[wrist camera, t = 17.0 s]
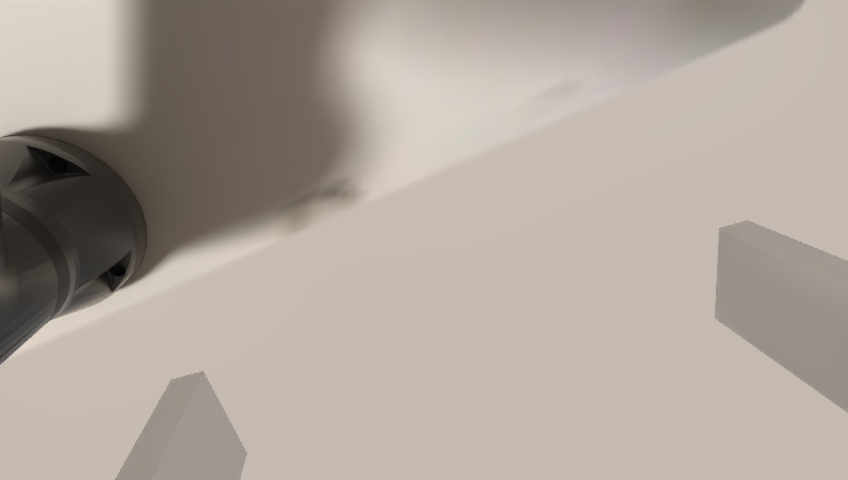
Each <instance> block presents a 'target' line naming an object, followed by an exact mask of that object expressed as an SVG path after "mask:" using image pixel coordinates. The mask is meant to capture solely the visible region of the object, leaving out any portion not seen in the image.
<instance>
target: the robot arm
mask: <svg viewBox="0 0 848 480" xmlns="http://www.w3.org/2000/svg"><path fill="white" fill-rule="evenodd" d="M145 248H146V225H145V220H144V217H143V213H142V211H141V208H140V206H139V204H138V202H137V200H136V198H135V196H134V195H133V193H132V192H131V190H130V189H129V187H128V186H127V185H126V184H125V182H124V181H123V180H122V179H121V178H120V177H119V176H118V175H117V174H116V173H115V172H114V171H113V170H112V169H111V168H110V167H108V166H107V165H106V164H105V163H103V162H102V161H100V160H99V159H98V158H96V157H94V156H93V155H91V154H89V153H88V152H86V151H84V150H82V149H80V148H78V147H75V146H73V145H70V144H68V143H65V142H62V141H58V140H55V139H50V138H46V137H39V136H26V135H20V136H8V137H2V138H0V364H1V363H3V362H4V361H5V360H6V359H7V358H8V357H9V356H10V355H11V354H13V353H14V352H15V351H16V350H17V349H18V348H19V347H20V346H22V345H23V344H24V343H25V342H26V341H27V340H28V339H29V338H30V337H32V336H33V335H34V334H35V333H36V332H37V331H38V330H39V329H41V328H42V327H43V326H44V325H45V324H46V323H47V322H49V321H50V320H52V319H55V318H58V317H61V316H64V315H67V314H70V313H73V312H75V311H78V310H81V309H84V308H87V307H90V306H92V305H95V304H97V303H99V302H101V301H103V300H104V299H106V298H108V297H109V296H111V295H112V294H113V293H115V292H116V291H117V290H118V289H119V288H120V287H121V286H122V285H123V284H124V283H125V282H126V281H127V280H128V279H129V278H130V277H131V276H132V275H133V274H134V273H135V271H136V270H137V268H138V267H139V265H140V263H141V261H142V258H143V256H144V252H145ZM716 285H717V286H716V305H715V319H717V320H718V321H720V322H721V323H722V324H724V325H725V326H727V327H728V328H729V329H731V330H732V331H734V332H735V333H737V334H738V335H739V336H741V337H742V338H743V339H745V340H746V341H748V342H749V343H750V344H752V345H753V346H755V347H756V348H757V349H759V350H760V351H762V352H763V353H764V354H766V355H767V356H769V357H770V358H772V359H773V360H774V361H776V362H777V363H779V364H780V365H781V366H783V367H784V368H786V369H787V370H789V371H790V372H791V373H793V374H794V375H795V376H797V377H798V378H800V379H801V380H802V381H804V382H805V383H807V384H808V385H809V386H811V387H812V388H814V389H815V390H816V391H818V392H819V393H821V394H822V395H823V396H825V397H826V398H828V399H829V400H831V401H832V402H833V403H835V404H836V405H838V406H839V407H840V408H842V409H843V410H845V411H846V412H847V413H848V261H846V260H844V259H841V258H839V257H836V256H834V255H831V254H829V253H826V252H824V251H822V250H819V249H817V248H814V247H812V246H809V245H807V244H804V243H802V242H799V241H797V240H794V239H792V238H790V237H787V236H785V235H782V234H780V233H777V232H775V231H772V230H770V229H767V228H765V227H762V226H760V225H757V224H755V223H753V222H750V221H744V222H740V223H736V224H733V225H729V226H725V227H722V228H719V244H718V264H717V284H716ZM246 455H247V452H246V451H245V448H244V446H243V445H242V443H241V441H240V439H239V437H238V435H237V433H236V431H235V430H234V428H233V426H232V424H231V422H230V420H229V418H228V417H227V415H226V413H225V411H224V409H223V407H222V405H221V403H220V401H219V400H218V398H217V396H216V394H215V392H214V390H213V389H212V386H211V385H210V383H209V381H208V379H207V377H206V375H205V373H204V371H202V372H198V373H194V374H191V375H187V376H183V377H180V378H176V379H173V380H171V381H170V383H169V385H168V386H167V388H166V390H165V392H164V394H163V395H162V397H161V399H160V401H159V402H158V404H157V406H156V408H155V409H154V411H153V413H152V415H151V417H150V418H149V420H148V422H147V424H146V426H145V427H144V429H143V431H142V433H141V435H140V436H139V438H138V440H137V442H136V443H135V445H134V447H133V449H132V451H131V452H130V454H129V456H128V457H127V459H126V461H125V463H124V465H123V466H122V468H121V470H120V472H119V474H118V475H117V477H116V479H115V480H240V477H241V474H242V470H243V466H244V462H245V458H246Z"/></svg>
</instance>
